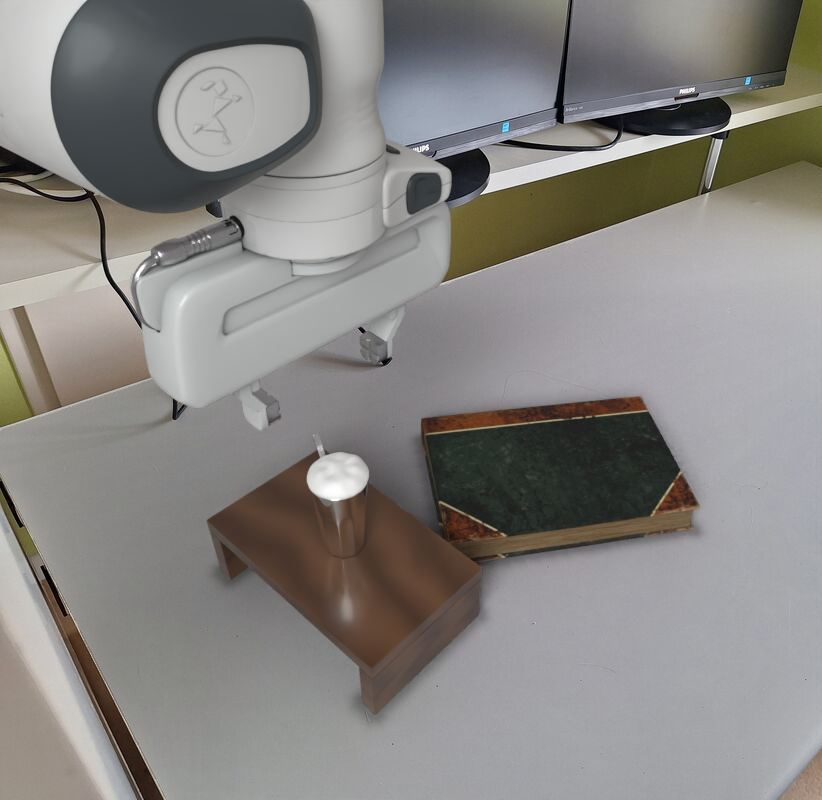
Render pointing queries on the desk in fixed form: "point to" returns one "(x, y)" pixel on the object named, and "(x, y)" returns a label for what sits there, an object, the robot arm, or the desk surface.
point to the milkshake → (339, 499)
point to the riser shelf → (354, 578)
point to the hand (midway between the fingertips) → (323, 387)
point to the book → (553, 478)
